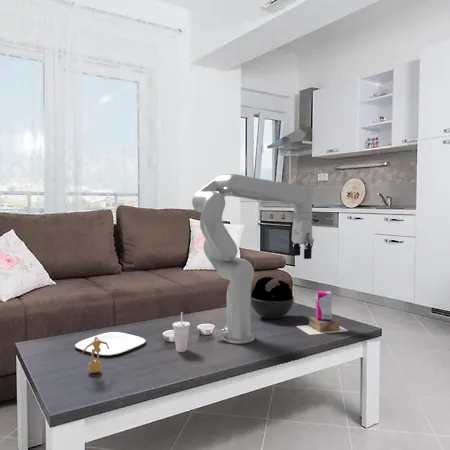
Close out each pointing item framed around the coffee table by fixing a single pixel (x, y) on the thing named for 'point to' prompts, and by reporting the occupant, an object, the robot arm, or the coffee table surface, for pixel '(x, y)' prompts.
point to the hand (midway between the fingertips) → (301, 257)
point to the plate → (112, 343)
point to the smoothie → (181, 334)
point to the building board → (312, 331)
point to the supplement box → (323, 305)
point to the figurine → (95, 364)
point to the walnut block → (324, 324)
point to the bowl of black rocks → (271, 299)
